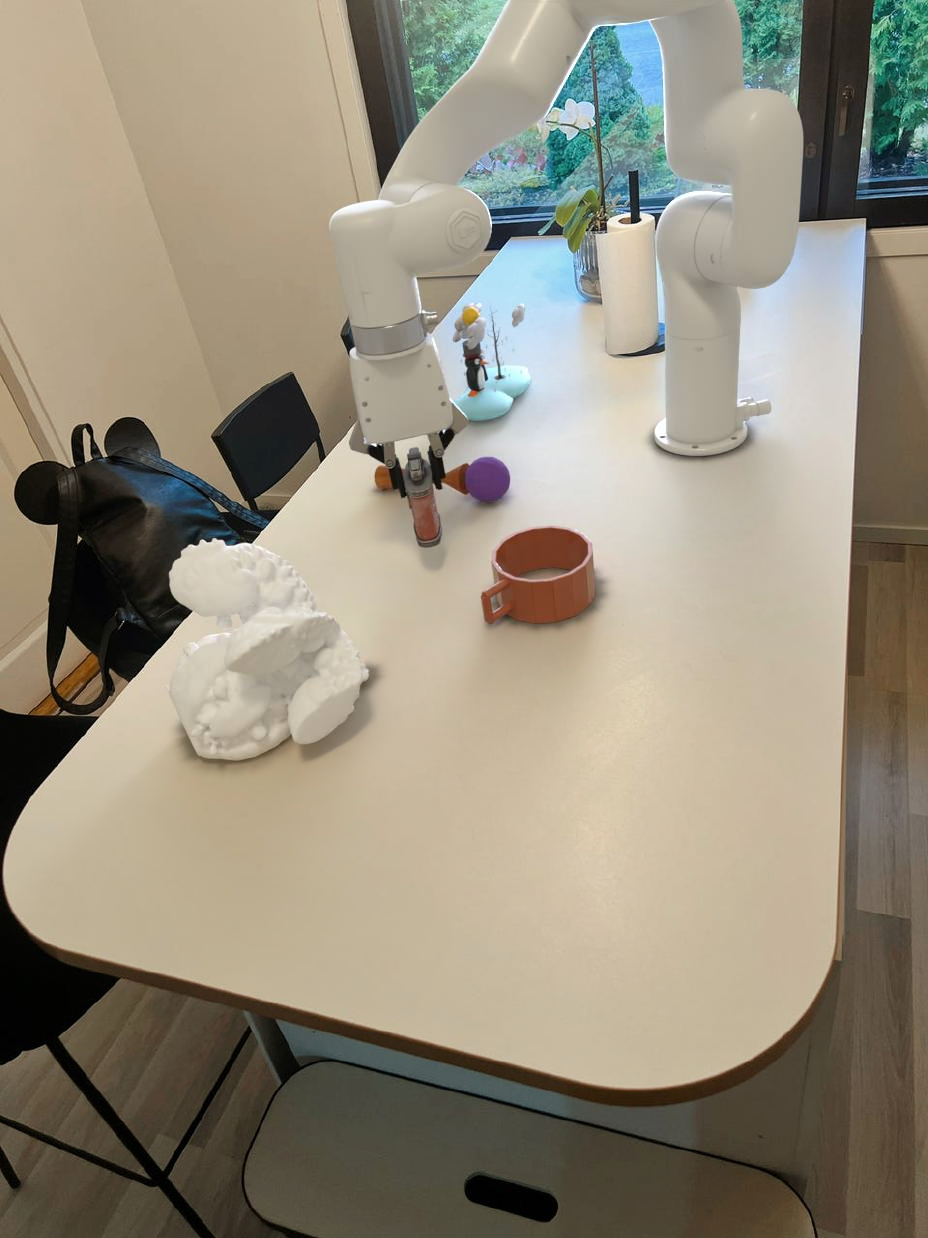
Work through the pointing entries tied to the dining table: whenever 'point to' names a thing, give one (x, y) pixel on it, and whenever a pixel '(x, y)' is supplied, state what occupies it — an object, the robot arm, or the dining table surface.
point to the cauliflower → (258, 655)
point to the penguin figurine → (487, 386)
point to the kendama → (467, 479)
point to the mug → (541, 595)
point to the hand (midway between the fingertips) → (419, 487)
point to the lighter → (422, 500)
